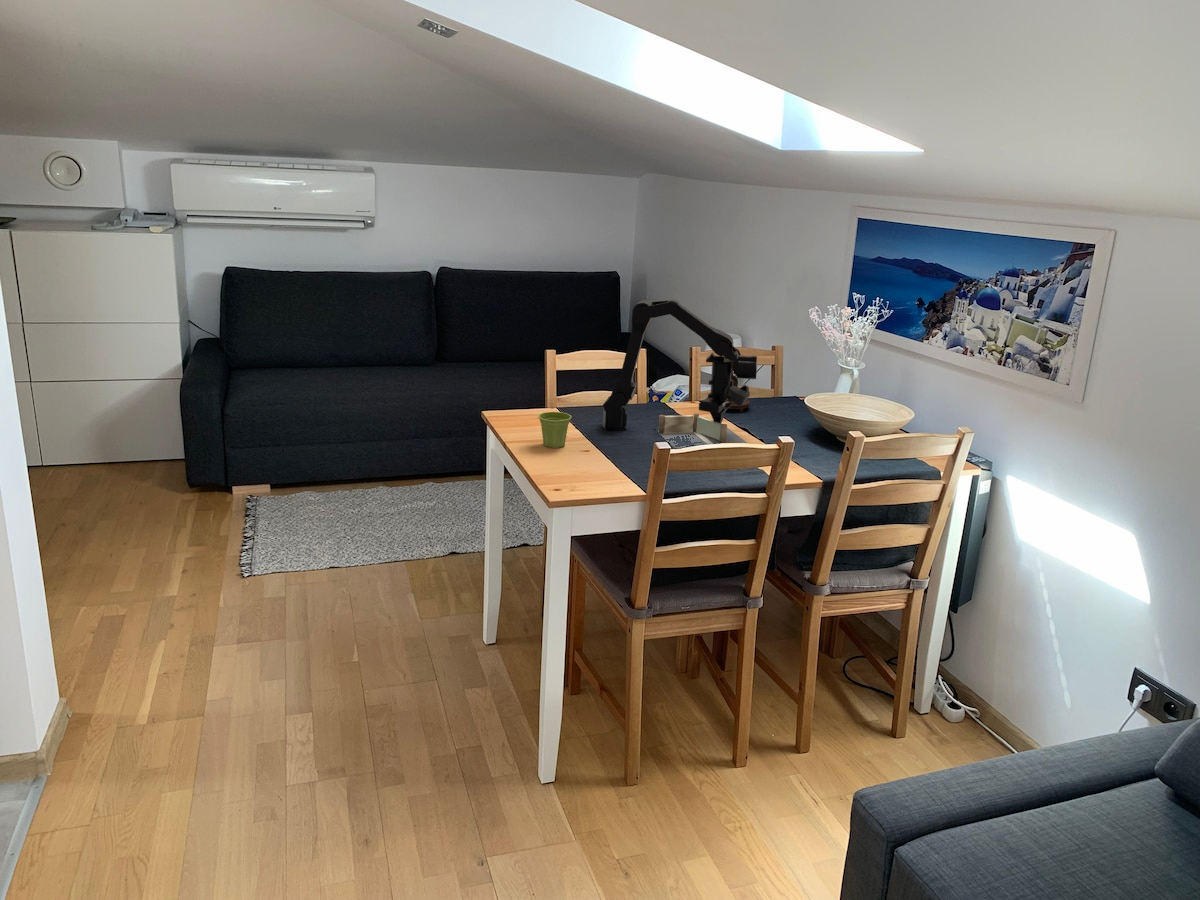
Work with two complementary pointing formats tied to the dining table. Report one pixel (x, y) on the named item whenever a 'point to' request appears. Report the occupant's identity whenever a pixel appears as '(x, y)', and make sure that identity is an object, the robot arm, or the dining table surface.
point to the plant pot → (554, 428)
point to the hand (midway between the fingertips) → (718, 427)
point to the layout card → (702, 438)
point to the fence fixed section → (677, 423)
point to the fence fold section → (711, 428)
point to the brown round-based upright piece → (734, 405)
